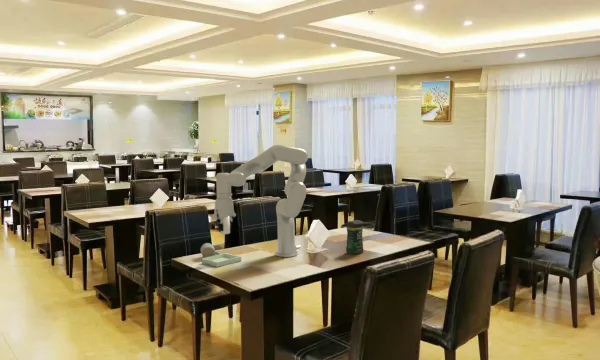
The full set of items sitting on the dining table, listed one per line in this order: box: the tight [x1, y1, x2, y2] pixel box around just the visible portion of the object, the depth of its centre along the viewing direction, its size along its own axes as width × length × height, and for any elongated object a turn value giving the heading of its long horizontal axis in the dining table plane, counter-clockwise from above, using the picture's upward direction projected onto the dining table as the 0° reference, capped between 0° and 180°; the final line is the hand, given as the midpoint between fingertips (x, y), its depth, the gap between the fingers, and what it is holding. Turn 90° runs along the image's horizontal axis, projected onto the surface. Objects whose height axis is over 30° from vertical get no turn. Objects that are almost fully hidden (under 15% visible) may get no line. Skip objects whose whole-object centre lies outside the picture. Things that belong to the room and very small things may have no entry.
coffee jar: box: [345, 219, 364, 255], centre depth 274 cm, size 10×8×19 cm
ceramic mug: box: [200, 242, 220, 258], centre depth 268 cm, size 11×8×8 cm
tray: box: [201, 252, 242, 268], centre depth 258 cm, size 16×13×3 cm
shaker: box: [220, 215, 231, 235], centre depth 258 cm, size 5×5×10 cm
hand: (225, 229), depth 258 cm, fingers closed on shaker, 5 cm apart
